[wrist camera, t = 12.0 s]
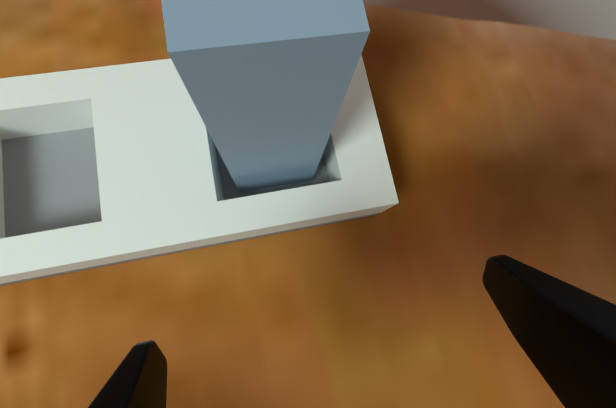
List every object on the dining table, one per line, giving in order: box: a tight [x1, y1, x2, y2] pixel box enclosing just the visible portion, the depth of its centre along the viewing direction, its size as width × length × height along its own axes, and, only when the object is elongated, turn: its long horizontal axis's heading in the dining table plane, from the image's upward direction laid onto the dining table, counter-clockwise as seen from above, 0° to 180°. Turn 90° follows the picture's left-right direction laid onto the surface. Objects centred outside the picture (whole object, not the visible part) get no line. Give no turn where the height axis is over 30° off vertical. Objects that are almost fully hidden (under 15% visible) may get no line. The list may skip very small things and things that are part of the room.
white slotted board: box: [0, 54, 399, 286], centre depth 19 cm, size 10×24×4 cm, turn 101°
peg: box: [161, 0, 370, 192], centre depth 14 cm, size 4×4×13 cm
